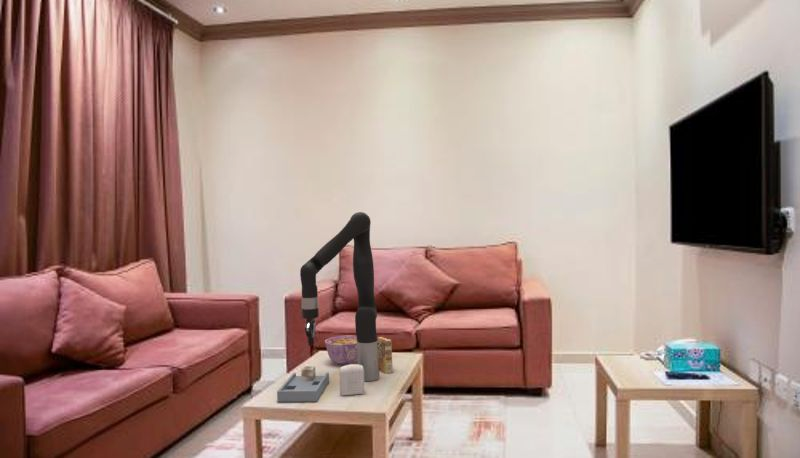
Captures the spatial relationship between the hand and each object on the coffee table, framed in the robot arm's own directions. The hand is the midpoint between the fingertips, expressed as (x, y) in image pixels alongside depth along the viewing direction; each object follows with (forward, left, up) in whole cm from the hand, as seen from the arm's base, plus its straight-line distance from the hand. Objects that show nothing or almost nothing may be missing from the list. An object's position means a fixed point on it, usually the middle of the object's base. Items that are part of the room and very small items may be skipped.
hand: (311, 345), depth 263 cm
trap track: (0, +16, -16) cm, 22 cm away
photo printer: (-21, +19, -17) cm, 33 cm away
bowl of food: (-10, -29, -17) cm, 35 cm away
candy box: (-31, -14, -17) cm, 38 cm away
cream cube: (0, +8, -13) cm, 15 cm away
